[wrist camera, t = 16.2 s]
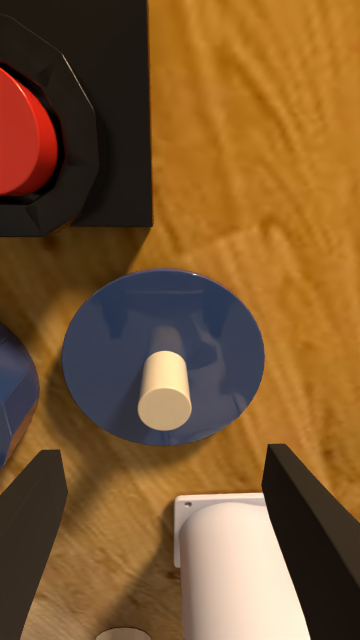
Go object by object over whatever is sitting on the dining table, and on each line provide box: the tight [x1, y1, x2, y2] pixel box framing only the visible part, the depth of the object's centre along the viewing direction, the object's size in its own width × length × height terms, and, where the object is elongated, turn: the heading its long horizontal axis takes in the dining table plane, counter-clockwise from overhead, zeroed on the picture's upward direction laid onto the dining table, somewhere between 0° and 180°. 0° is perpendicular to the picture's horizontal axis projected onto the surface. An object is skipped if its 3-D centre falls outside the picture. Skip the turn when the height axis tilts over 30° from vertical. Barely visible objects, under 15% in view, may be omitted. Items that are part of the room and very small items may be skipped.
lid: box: [62, 268, 265, 446], centre depth 15 cm, size 11×11×4 cm
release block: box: [0, 0, 154, 237], centre depth 11 cm, size 10×8×3 cm
